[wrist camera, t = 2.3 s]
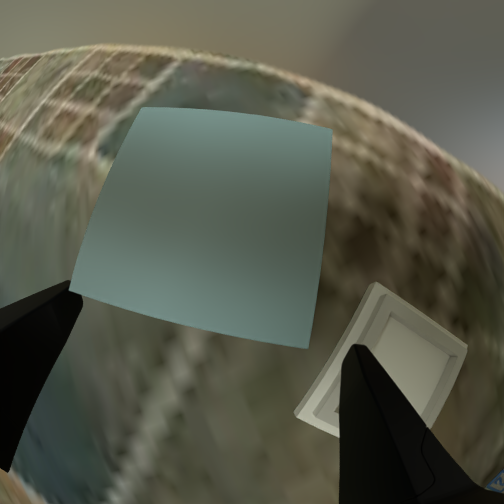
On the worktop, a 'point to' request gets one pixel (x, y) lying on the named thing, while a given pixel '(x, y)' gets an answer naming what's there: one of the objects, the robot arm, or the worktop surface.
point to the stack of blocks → (497, 483)
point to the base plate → (390, 358)
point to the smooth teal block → (213, 223)
